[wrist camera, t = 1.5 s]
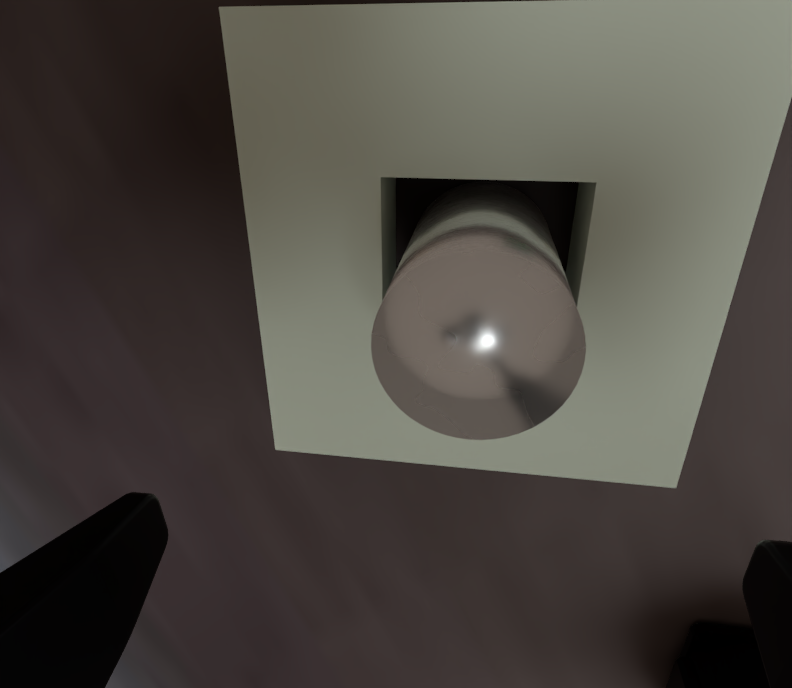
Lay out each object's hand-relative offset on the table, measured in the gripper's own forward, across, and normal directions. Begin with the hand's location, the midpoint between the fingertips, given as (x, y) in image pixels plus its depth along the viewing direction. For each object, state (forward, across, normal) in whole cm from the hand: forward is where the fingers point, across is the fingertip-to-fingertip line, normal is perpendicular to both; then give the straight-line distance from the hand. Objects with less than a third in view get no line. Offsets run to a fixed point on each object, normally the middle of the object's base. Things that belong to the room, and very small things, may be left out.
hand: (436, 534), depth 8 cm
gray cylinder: (+14, -1, 0) cm, 14 cm away
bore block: (+13, -1, 0) cm, 13 cm away
